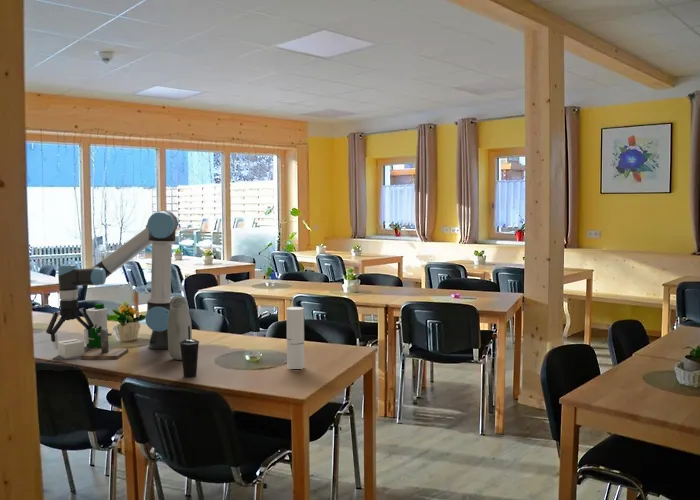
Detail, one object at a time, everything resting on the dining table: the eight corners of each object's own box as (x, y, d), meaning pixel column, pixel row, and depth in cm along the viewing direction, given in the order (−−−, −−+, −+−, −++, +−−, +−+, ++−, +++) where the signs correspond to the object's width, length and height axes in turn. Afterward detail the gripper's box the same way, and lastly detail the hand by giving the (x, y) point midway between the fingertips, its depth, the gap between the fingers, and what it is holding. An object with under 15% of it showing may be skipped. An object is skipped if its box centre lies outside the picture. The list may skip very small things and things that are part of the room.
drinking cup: (201, 373, 256) (200, 324, 254) (197, 378, 248) (196, 328, 246) (182, 373, 255) (181, 324, 254) (178, 378, 248) (176, 328, 246)
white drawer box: (76, 351, 291) (76, 338, 291) (84, 354, 285) (83, 341, 285) (57, 355, 285) (57, 341, 285) (65, 358, 280) (64, 344, 279)
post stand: (128, 351, 294) (127, 325, 293) (117, 359, 280) (116, 332, 279) (93, 351, 293) (92, 326, 293) (81, 359, 280) (80, 332, 279)
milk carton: (111, 344, 308) (110, 304, 306) (96, 348, 299) (95, 306, 298) (98, 343, 311) (96, 302, 310) (83, 347, 303) (81, 305, 302)
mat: (88, 353, 291) (88, 352, 291) (78, 359, 280) (78, 357, 280) (64, 353, 291) (64, 352, 291) (53, 359, 280) (53, 358, 280)
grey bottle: (167, 357, 281) (165, 295, 279) (191, 355, 285) (189, 293, 283) (169, 363, 272) (167, 298, 270) (193, 360, 276) (192, 296, 274)
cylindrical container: (295, 364, 268) (294, 306, 266) (308, 367, 263) (307, 308, 261) (283, 368, 262) (282, 308, 260) (296, 371, 258) (295, 310, 256)
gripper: (92, 295, 295) (95, 340, 297) (36, 301, 277) (39, 349, 279) (99, 296, 290) (102, 342, 291) (42, 303, 272) (45, 352, 274)
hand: (71, 346), depth 285 cm, fingers open, 13 cm apart
